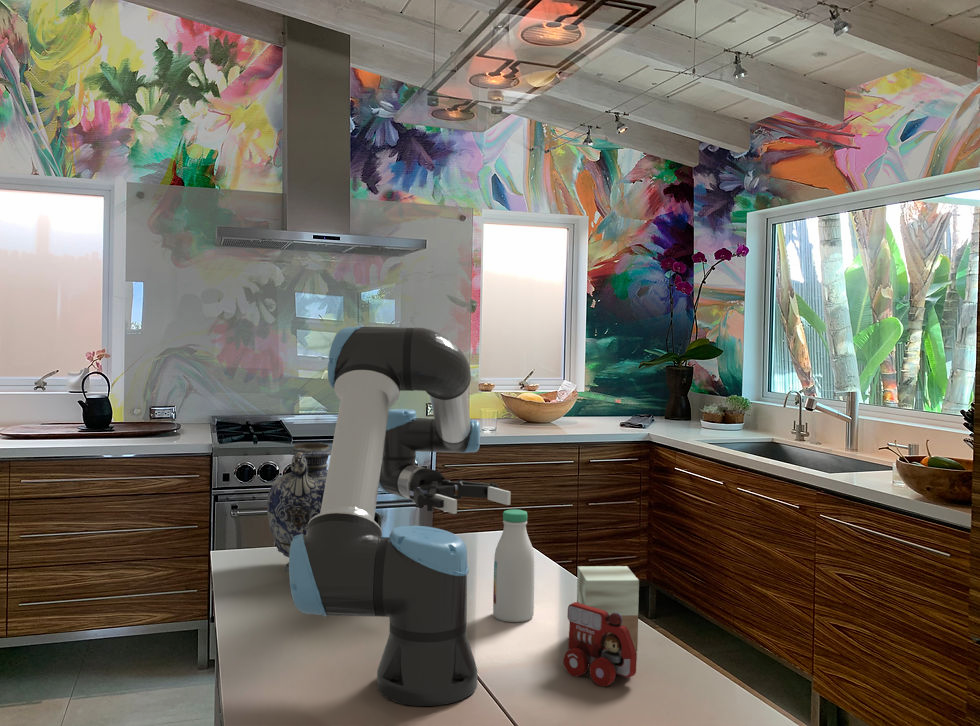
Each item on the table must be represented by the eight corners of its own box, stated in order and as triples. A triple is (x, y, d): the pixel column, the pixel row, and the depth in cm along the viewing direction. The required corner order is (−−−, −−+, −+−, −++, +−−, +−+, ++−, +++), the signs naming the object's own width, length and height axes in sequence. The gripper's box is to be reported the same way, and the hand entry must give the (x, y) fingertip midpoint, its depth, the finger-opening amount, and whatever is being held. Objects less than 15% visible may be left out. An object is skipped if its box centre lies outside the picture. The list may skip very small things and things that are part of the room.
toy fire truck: (620, 694, 122) (621, 625, 121) (554, 670, 130) (556, 605, 130) (645, 680, 127) (646, 614, 126) (580, 658, 135) (582, 595, 135)
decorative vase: (281, 554, 195) (284, 437, 194) (358, 557, 194) (361, 440, 193) (251, 581, 173) (254, 450, 172) (338, 585, 173) (341, 453, 172)
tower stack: (637, 650, 139) (638, 580, 138) (584, 650, 138) (586, 580, 138) (625, 632, 147) (627, 566, 147) (576, 632, 147) (577, 566, 146)
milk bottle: (542, 616, 155) (544, 511, 154) (515, 626, 149) (517, 517, 148) (511, 606, 160) (513, 505, 159) (484, 616, 154) (486, 511, 154)
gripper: (467, 495, 186) (529, 513, 170) (372, 509, 171) (430, 530, 154) (468, 462, 186) (530, 477, 170) (373, 473, 170) (431, 490, 154)
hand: (483, 502), depth 162 cm, fingers open, 13 cm apart
